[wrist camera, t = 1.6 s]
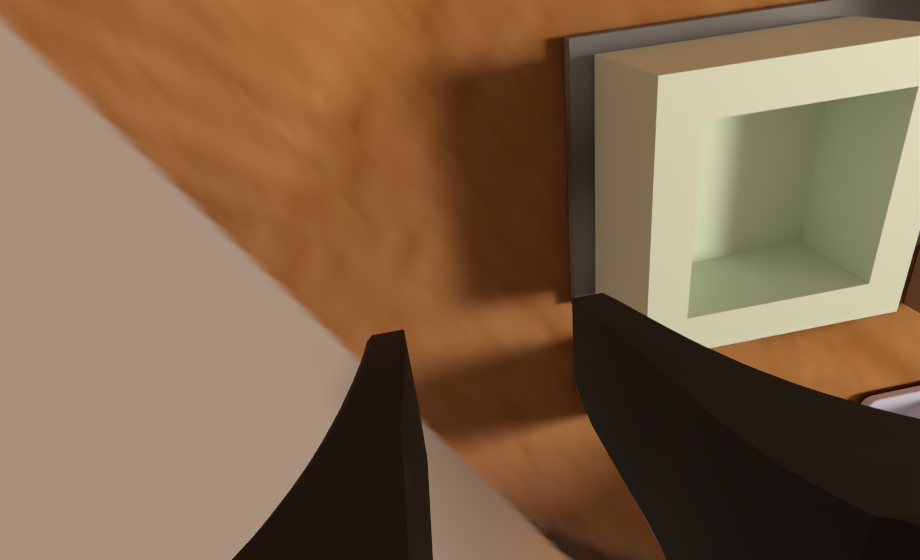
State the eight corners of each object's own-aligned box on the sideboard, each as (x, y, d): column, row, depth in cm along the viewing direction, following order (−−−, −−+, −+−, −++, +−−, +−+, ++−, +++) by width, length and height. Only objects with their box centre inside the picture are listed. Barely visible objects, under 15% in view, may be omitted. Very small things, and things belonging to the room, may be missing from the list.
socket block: (807, 255, 21) (896, 311, 18) (595, 295, 21) (645, 360, 17) (852, 15, 18) (977, 26, 14) (594, 54, 17) (658, 75, 13)
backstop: (947, 294, 24) (1113, 384, 19) (572, 368, 23) (639, 487, 18) (1094, -152, 17) (1425, -207, 12) (560, -85, 16) (665, -113, 10)
